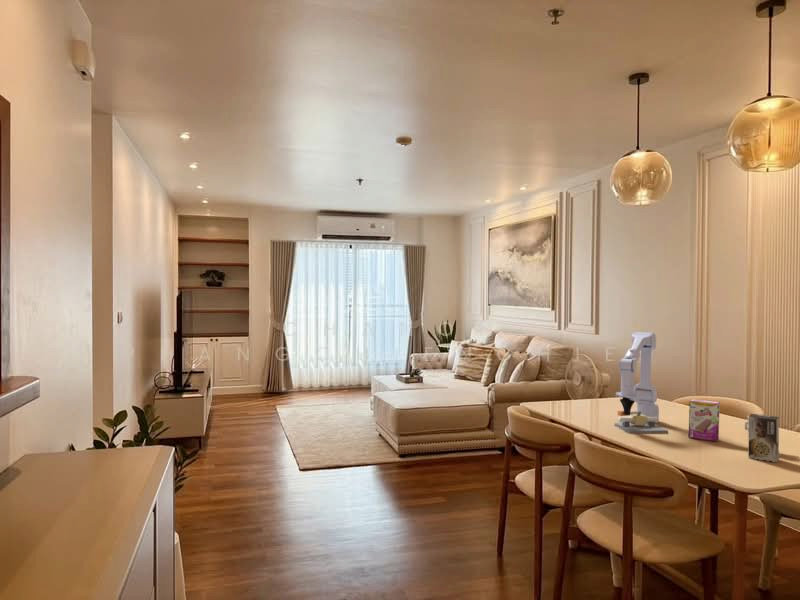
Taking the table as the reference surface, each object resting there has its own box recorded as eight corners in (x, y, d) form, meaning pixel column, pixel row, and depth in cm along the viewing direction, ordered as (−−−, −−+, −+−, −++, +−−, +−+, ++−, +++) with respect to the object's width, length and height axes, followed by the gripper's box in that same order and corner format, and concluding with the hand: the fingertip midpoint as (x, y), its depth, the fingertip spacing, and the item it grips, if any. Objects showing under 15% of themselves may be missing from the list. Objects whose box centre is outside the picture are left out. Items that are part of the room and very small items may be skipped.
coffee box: (779, 459, 198) (779, 416, 198) (776, 463, 193) (777, 419, 193) (750, 454, 204) (750, 413, 204) (747, 458, 199) (748, 415, 199)
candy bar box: (688, 438, 228) (688, 400, 227) (689, 435, 232) (690, 398, 232) (718, 442, 221) (719, 403, 221) (719, 440, 225) (719, 401, 225)
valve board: (651, 425, 250) (651, 412, 250) (668, 433, 236) (668, 418, 236) (614, 425, 249) (614, 412, 249) (629, 433, 235) (629, 418, 235)
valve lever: (638, 413, 246) (638, 409, 246) (642, 414, 244) (642, 410, 244) (617, 415, 242) (617, 411, 242) (621, 416, 240) (621, 412, 240)
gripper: (610, 382, 247) (609, 411, 247) (630, 387, 233) (629, 418, 233) (623, 382, 248) (622, 411, 248) (643, 387, 234) (643, 417, 234)
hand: (627, 414), depth 241 cm, fingers closed, pressing on valve lever
